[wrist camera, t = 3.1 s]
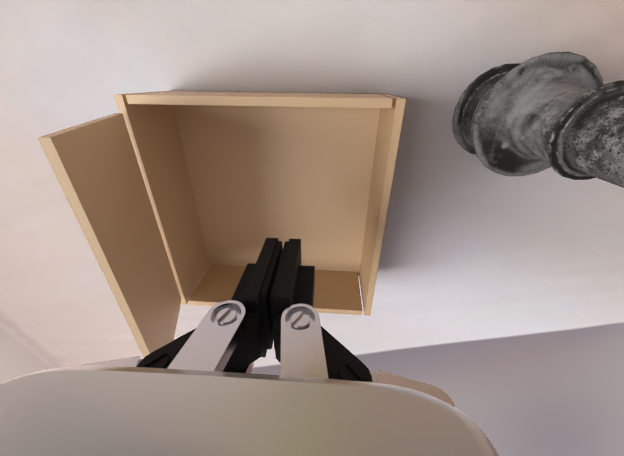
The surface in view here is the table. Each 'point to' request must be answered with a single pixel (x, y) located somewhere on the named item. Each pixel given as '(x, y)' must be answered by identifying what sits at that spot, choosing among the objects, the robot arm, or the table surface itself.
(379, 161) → the carton
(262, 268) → the robot arm
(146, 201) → the flap
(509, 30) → the table surface
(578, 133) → the salt shaker
